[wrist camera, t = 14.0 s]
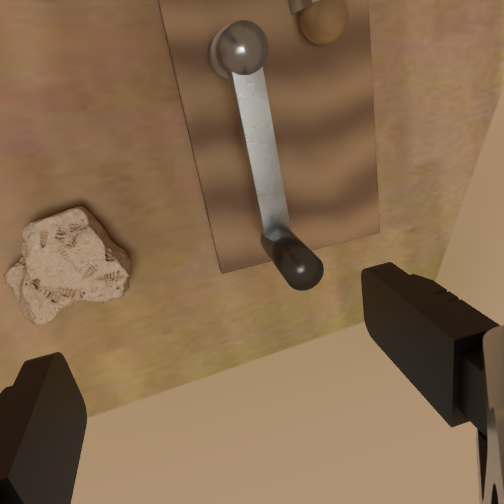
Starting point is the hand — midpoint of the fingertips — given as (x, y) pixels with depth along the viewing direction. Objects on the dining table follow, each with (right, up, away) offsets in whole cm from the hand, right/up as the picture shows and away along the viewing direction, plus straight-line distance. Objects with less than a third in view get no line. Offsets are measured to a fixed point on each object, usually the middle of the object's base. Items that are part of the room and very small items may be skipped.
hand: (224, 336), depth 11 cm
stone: (-16, +2, +29) cm, 33 cm away
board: (+4, +14, +28) cm, 32 cm away
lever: (+1, +11, +24) cm, 27 cm away
